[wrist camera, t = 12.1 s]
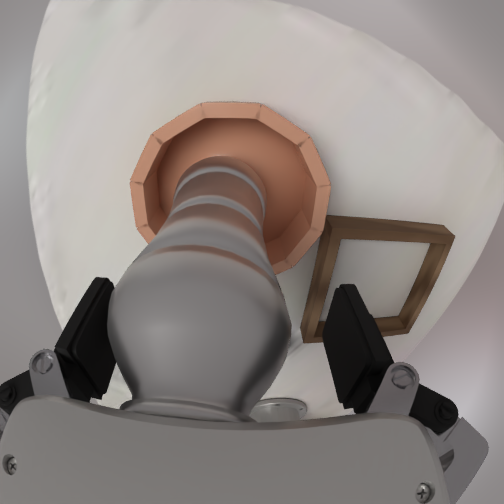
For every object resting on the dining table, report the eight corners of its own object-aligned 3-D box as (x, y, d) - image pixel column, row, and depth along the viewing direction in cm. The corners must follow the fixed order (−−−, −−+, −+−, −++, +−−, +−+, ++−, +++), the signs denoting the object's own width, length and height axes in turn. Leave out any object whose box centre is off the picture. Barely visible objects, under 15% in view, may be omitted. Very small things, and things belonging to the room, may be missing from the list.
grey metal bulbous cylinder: (244, 235, 24) (254, 496, 7) (171, 207, 22) (73, 462, 5) (278, 170, 21) (383, 457, 4) (198, 136, 19) (21, 402, 2)
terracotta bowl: (302, 255, 26) (311, 285, 23) (159, 253, 26) (146, 281, 22) (322, 108, 19) (340, 112, 15) (146, 105, 18) (124, 109, 14)
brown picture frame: (401, 320, 33) (408, 333, 31) (300, 327, 32) (303, 343, 30) (443, 225, 25) (455, 236, 23) (324, 215, 24) (332, 227, 22)
